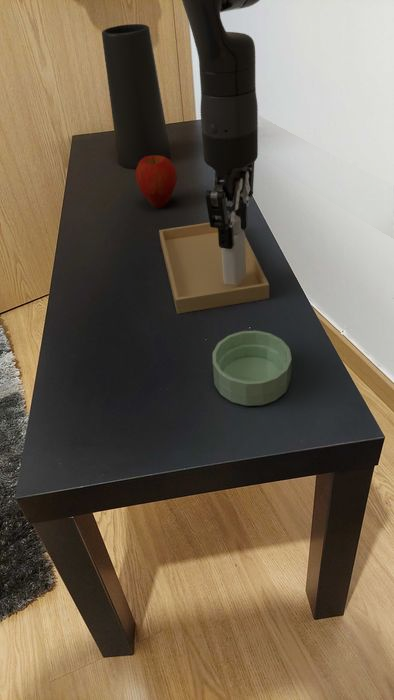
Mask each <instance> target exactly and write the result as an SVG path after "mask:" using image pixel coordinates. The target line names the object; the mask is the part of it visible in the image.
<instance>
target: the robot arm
mask: <svg viewBox="0 0 394 700" xmlns="http://www.w3.org/2000/svg"><path fill="white" fill-rule="evenodd" d="M260 1H261V0H181V2H182V5H183V8H184V11H185V14H186V16H187V20H188V24H189V27H190V30H191V33H192V34H191V35H192V38H193V40H194V44H195V47H196V48H195V49H196V52H197V57H198V66H199V67H198V68H199V80H200V81H199V82H200V123H201V139H202V151H203V153H202V154H203V160H204V163H205V164H206V165H207V166H209V167H210V168H212V169H213V170H214V171H215V173H214V177H213V190H211V189H210V190H209V189H208V190H206V192H205V203H206V210H207V214H208V221H209V222H210V227H212V228H218V240H219V246H220V247H221V248H226V249H232V247H233V246H234V232H233V221H234V212H235V214H236V216H239V217H240V219H241V229H243V230H244V231H245V230H246V229H247V227H248V207H249V204H250V198H252V197H253V195H254V177H255V162H256V160H257V159H258V155H259V153H258V152H259V150H258V149H259V148H258V147H259V146H258V145H259V144H258V143H259V142H258V141H259V139H258V137H259V136H258V135H259V134H258V133H259V129H258V128H259V125H258V124H259V123H258V122H259V121H258V120H259V117H258V114H259V113H258V111H259V109H258V98H257V89H256V88H257V87H256V85H257V84H256V57H257V56H256V45H255V41H254V39H253V38H252V37H251V36H250V35H249V34H246V33H243V32H237V31H235V32H234V31H226V29H225V27H224V25H223V22H222V19H221V18H222V17H221V13H224V12H230V11H235V10H241V9H246V8H249V7H252V6H254V5H256V4H257V3H259V2H260ZM227 202H231V204H229V203H228V204H227ZM209 222H208V223H209Z"/></svg>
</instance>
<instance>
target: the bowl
mask: <svg viewBox="0 0 394 700" xmlns="http://www.w3.org/2000/svg"><path fill="white" fill-rule="evenodd" d="M292 360H293V358H292V353H291V348H290V347H289V346H288V344H287V343H286V342H285V341H284V340H283V339H281V338H280V337H278V336H277V335H274V334H272V333H271V332H266V331H261V330H242V331H238V332H234V333H231V334H229V335H227V336H226V337H224V338H223V339H222V340H220V341H218V343H217V344H216V346H215V348H214V349H213V351H212V369H213V371H212V372H213V383H214V387H215V388H216V390H217V391H218V392H219V394H220V395H221V396H222V397H224V398H225V399H226V400H228V401H229V402H231V403H235V404H237V405H242V406H246V407H250V406H251V407H252V406H264V405H267V404H270V403H272V402H275V401H278V399H279V398H281V397H282V396H283V395H284V394H285V393H286V392H287V390H288V388H289V386H290V383H291V377H292V376H291V375H292Z"/></svg>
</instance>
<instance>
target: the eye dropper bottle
mask: <svg viewBox="0 0 394 700" xmlns="http://www.w3.org/2000/svg"><path fill="white" fill-rule="evenodd" d="M233 232H234V246H233V247H232V249H226V248H222V263H223V280H224V284H225V285H231V286H237V285H239V284H240V283H241V282H242V281H243V280H244V278H245V275H246V252H245V236H246V233H245V230H243V229H241V219H240V217H239V216H236V214H235V212H234V221H233Z"/></svg>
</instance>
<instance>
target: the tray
mask: <svg viewBox="0 0 394 700" xmlns="http://www.w3.org/2000/svg"><path fill="white" fill-rule="evenodd" d="M158 233H159V240H160V246H161V250H162V254H163V258H164V263H165V267H166V273H167V276H168V281H169V284H170V285H169V286H170V290H171V294H172V298H173V302H174V306H175V310H176V314H177V315H179V314H185V313H191V312H197V311H202V310H209V309H215V308H222V307H227V306H234V305H240V304H247V303H252V302H258V301H262V300H263V301H264V300H269V299H270V283H269V281H268V279H267V277H266V276H265V274H264V271H263V269H262V267H261V265H260V263H259V261H258V259H257V257H256V255H255V253H254V251H253V249H252V247H251V245H250V243H249V241H248V239H247V236H246V235H245V252H246V275H245V278H244V280H243V281H242V282H241V283H240V284H239V285H237V286H231V285H225V284H224V280H223V263H222V248H221V247H220V246H219V240H218V228H212V227H210V222H203V223H197V224H189V225H183V226H177V227H171V228H170V227H169V228H165V229H158Z"/></svg>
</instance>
